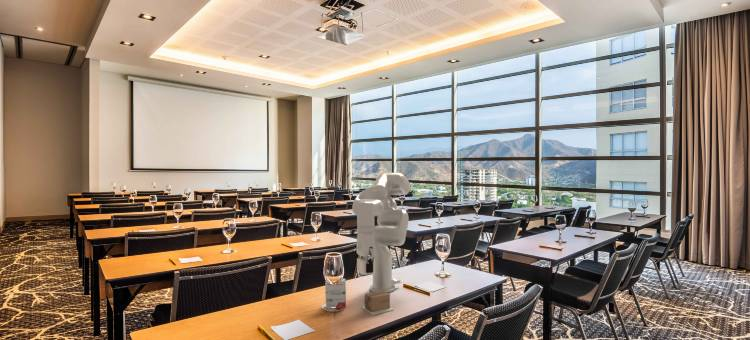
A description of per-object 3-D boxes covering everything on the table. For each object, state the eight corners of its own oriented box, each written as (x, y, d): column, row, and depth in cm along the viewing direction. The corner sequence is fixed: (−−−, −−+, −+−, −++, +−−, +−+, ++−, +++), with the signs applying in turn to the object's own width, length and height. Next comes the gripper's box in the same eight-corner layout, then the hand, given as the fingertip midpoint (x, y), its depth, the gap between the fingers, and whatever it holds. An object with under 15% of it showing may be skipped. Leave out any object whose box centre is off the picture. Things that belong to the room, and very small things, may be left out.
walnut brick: (364, 307, 171) (364, 293, 170) (382, 303, 175) (382, 290, 175) (371, 312, 165) (371, 297, 165) (389, 307, 170) (389, 293, 170)
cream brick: (369, 270, 177) (369, 256, 177) (375, 273, 172) (375, 259, 172) (357, 271, 174) (357, 258, 174) (362, 275, 169) (362, 261, 169)
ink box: (346, 304, 177) (345, 277, 176) (345, 308, 172) (344, 281, 171) (327, 304, 177) (326, 278, 176) (325, 308, 172) (325, 281, 171)
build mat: (381, 303, 177) (381, 302, 177) (393, 310, 168) (393, 309, 168) (361, 307, 172) (361, 306, 172) (372, 315, 163) (372, 314, 163)
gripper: (350, 227, 179) (350, 267, 179) (366, 233, 164) (366, 276, 164) (365, 226, 182) (366, 265, 182) (382, 231, 167) (383, 274, 167)
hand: (366, 270), depth 173 cm, fingers closed on cream brick, 6 cm apart
